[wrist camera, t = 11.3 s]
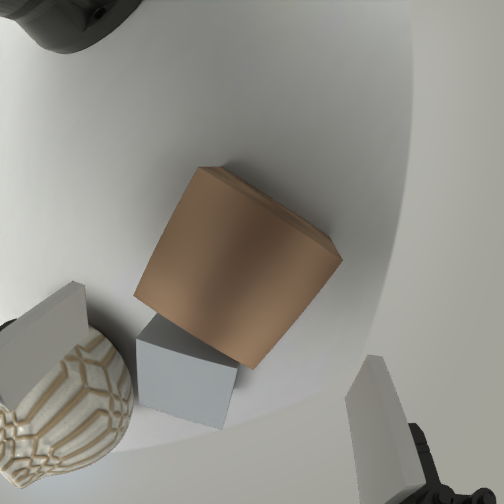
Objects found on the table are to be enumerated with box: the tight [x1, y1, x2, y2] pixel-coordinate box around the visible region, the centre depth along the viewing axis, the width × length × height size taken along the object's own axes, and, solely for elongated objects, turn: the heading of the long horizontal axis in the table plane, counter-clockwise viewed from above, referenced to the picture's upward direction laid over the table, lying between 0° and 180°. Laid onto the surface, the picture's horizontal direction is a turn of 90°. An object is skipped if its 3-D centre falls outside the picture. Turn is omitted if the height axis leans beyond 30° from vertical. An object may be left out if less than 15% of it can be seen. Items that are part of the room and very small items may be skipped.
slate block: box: [136, 313, 240, 430], centre depth 24 cm, size 8×8×6 cm
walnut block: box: [133, 167, 343, 369], centre depth 21 cm, size 10×10×6 cm
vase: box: [0, 324, 133, 489], centre depth 20 cm, size 16×16×20 cm
